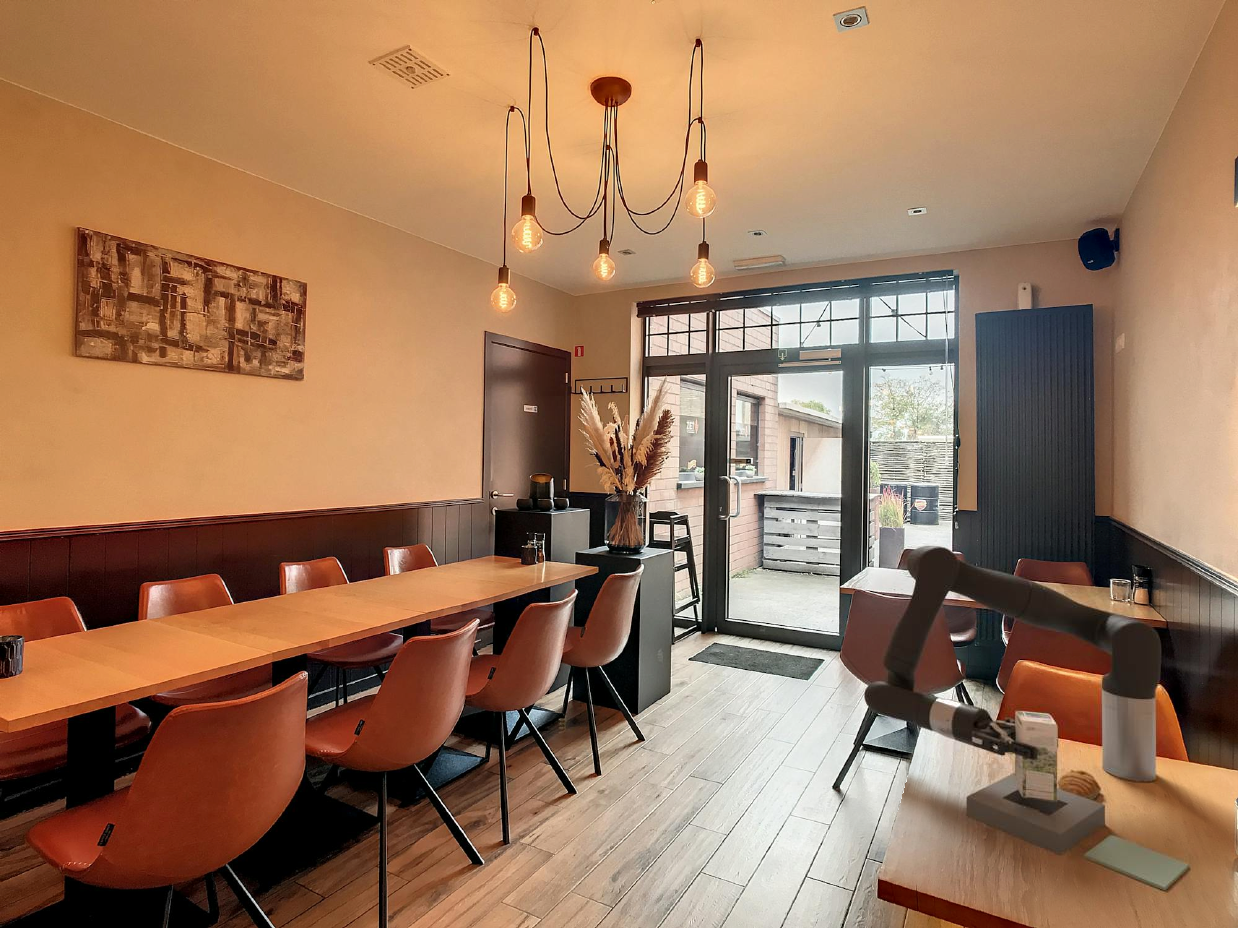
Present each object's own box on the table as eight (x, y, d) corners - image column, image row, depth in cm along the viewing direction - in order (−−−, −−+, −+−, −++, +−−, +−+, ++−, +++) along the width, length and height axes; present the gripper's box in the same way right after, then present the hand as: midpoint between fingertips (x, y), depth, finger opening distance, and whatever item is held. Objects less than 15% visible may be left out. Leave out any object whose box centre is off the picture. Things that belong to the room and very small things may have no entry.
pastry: (1091, 809, 130) (1091, 788, 130) (1051, 797, 135) (1050, 777, 135) (1102, 793, 137) (1101, 774, 137) (1063, 782, 142) (1063, 764, 142)
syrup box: (1049, 789, 128) (1048, 712, 128) (1058, 803, 122) (1057, 723, 122) (1014, 784, 130) (1014, 708, 130) (1022, 798, 124) (1021, 719, 124)
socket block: (1013, 790, 137) (1013, 772, 137) (1105, 823, 124) (1104, 804, 124) (966, 815, 127) (966, 796, 127) (1060, 854, 114) (1060, 833, 114)
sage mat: (1110, 837, 120) (1110, 834, 120) (1189, 867, 111) (1189, 864, 111) (1084, 857, 113) (1083, 854, 113) (1164, 890, 104) (1164, 887, 104)
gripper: (940, 710, 134) (1028, 737, 120) (978, 696, 142) (1064, 719, 128) (940, 748, 134) (1028, 779, 120) (978, 732, 142) (1065, 759, 128)
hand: (1047, 748), depth 124 cm, fingers closed on syrup box, 7 cm apart
